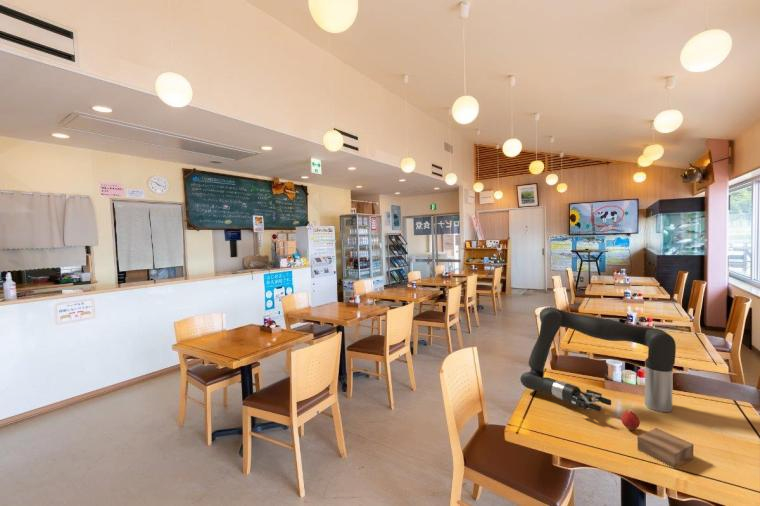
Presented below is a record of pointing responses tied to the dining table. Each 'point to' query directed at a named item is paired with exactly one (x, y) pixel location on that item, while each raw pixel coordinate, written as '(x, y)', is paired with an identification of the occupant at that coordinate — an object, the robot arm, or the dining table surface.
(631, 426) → the onion
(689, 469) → the dining table surface
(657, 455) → the walnut block
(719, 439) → the dining table surface
